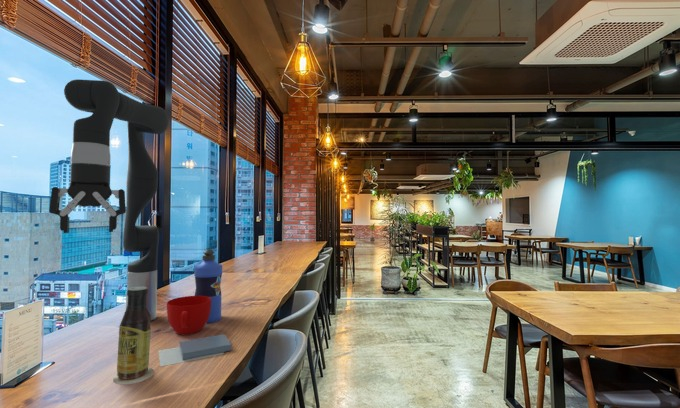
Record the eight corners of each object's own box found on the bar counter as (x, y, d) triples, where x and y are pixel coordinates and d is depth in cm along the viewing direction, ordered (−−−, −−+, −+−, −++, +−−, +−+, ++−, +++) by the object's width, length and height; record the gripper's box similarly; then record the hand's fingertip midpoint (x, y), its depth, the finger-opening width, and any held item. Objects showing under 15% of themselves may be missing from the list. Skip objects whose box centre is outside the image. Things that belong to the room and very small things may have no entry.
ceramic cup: (157, 346, 95) (158, 310, 95) (171, 327, 111) (171, 296, 111) (206, 342, 98) (207, 307, 99) (212, 324, 115) (213, 294, 115)
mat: (160, 368, 82) (160, 366, 82) (158, 352, 91) (158, 350, 91) (224, 355, 89) (224, 353, 89) (216, 341, 99) (216, 340, 99)
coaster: (105, 380, 75) (105, 378, 75) (141, 366, 82) (141, 364, 82) (125, 389, 71) (125, 387, 71) (161, 374, 78) (161, 372, 78)
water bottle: (226, 316, 124) (227, 248, 124) (214, 324, 114) (215, 250, 115) (201, 315, 125) (203, 247, 125) (188, 323, 115) (189, 250, 116)
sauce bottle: (109, 379, 75) (112, 289, 76) (134, 367, 81) (136, 284, 82) (132, 383, 73) (134, 291, 74) (156, 371, 79) (157, 286, 80)
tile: (182, 353, 85) (231, 344, 91) (179, 341, 93) (224, 334, 99) (182, 360, 85) (231, 350, 91) (179, 348, 93) (224, 340, 99)
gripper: (127, 168, 86) (125, 231, 86) (56, 163, 79) (53, 232, 79) (125, 164, 80) (124, 232, 79) (48, 159, 73) (45, 234, 72)
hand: (89, 232), depth 79 cm, fingers open, 8 cm apart
